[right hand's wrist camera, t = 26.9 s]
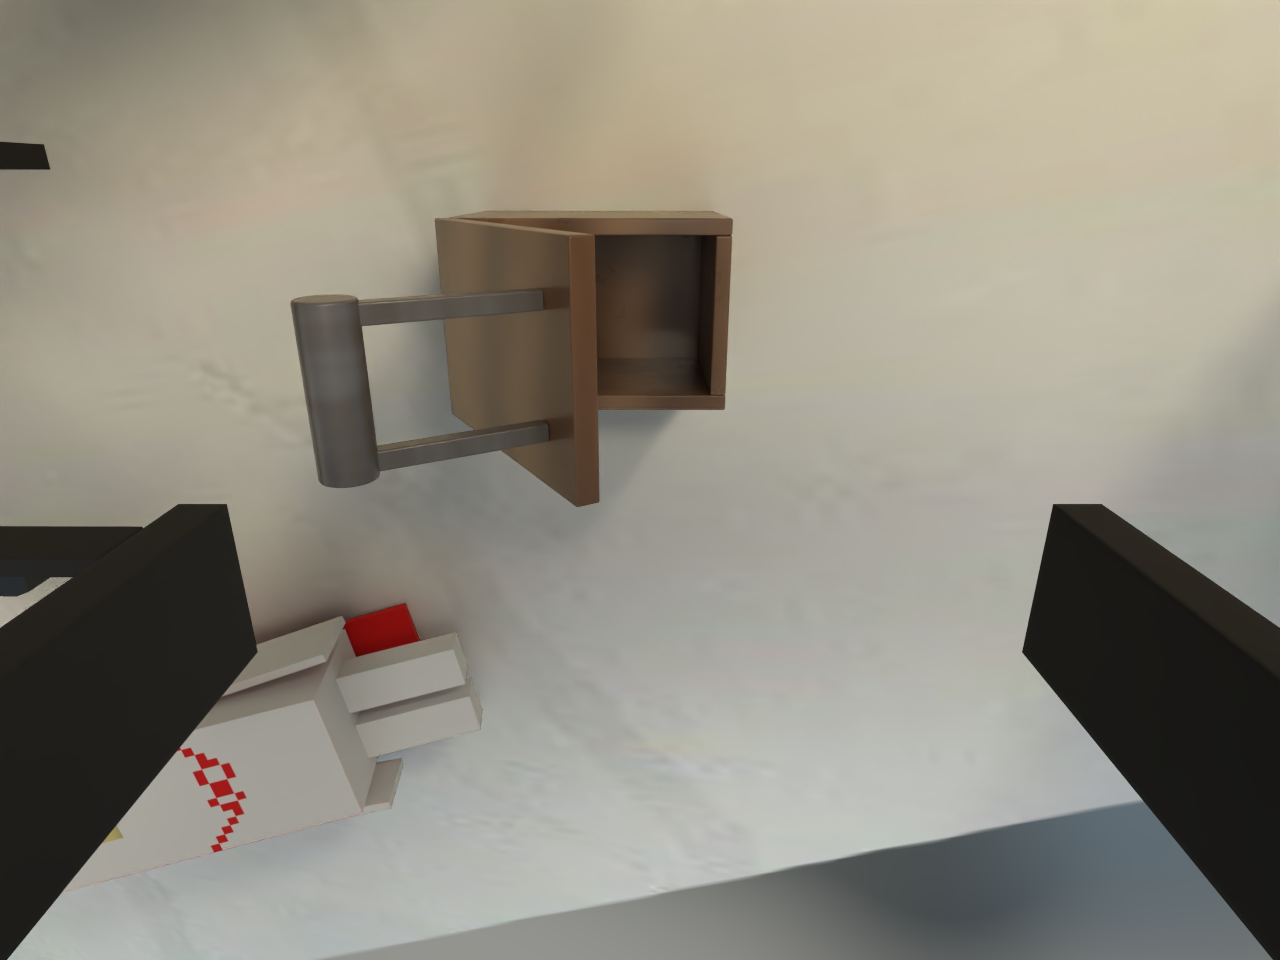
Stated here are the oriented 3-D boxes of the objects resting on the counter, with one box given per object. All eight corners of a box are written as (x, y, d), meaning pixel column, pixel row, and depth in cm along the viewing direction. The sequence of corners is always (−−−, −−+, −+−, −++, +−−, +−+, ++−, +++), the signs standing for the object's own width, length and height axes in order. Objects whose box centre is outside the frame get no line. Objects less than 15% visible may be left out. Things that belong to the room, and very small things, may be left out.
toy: (488, 811, 48) (-6, 942, 46) (496, 686, 60) (109, 785, 58) (430, 646, 43) (-117, 784, 42) (452, 549, 56) (33, 651, 54)
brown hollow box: (714, 211, 44) (733, 218, 35) (708, 367, 47) (724, 410, 39) (485, 210, 44) (447, 217, 35) (495, 367, 47) (463, 409, 39)
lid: (595, 234, 24) (293, 244, 20) (600, 502, 27) (342, 561, 23) (454, 217, 35) (240, 222, 31) (470, 411, 38) (278, 439, 34)
